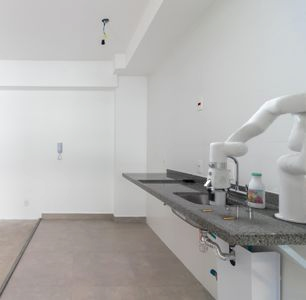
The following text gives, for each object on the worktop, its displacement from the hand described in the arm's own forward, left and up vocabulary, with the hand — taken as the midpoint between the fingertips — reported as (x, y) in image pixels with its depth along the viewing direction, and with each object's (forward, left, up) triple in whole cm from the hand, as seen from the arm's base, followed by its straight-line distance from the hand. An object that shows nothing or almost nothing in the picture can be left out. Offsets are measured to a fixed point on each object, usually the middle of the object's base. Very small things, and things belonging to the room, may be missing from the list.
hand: (217, 200), depth 107 cm
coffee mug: (-21, -19, -8) cm, 29 cm away
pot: (0, 0, -2) cm, 2 cm away
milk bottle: (-35, -7, -8) cm, 37 cm away
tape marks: (0, 0, -7) cm, 7 cm away
